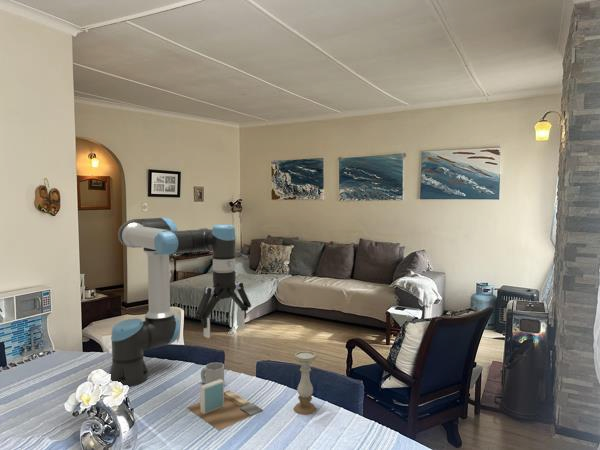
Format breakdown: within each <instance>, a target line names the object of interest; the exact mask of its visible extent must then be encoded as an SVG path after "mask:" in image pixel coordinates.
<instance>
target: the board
mask: <svg viewBox="0 0 600 450" xmlns="http://www.w3.org/2000/svg"><path fill="white" fill-rule="evenodd" d="M248 402H249V404H251V403H252V402H250V401H248ZM240 408H241V407H240V406H238V405H237V404H235V403H233V402H232V401H230V400H228V399H227V398H225V397H224V406H223V407H220V408H218V409H215V410H213V411H210V412H208V413H205V414H203V413H201V401H200V402H198V403H194V404H192V405H190V406H187V407H186V409H187V410H188V411H191V412H192V413H193V414H194V415H196V416H197V417H198V418H200V419H201V420H202V421H204V422H205V423H207V424H208V425H211V427H213V428H214V429H215V430H217V431H221V430H224V429H226V428H228V427H230V426H232V425H236V424H237V423H240V422H241V421H243V420H246V419H249V418H251V417H252V416H249V415H248V414H246V413H245V412H243V411H241V410H240ZM264 410H265V409H264ZM264 410H263V411H261V412H259V413H258V414H260V413H262V412H264Z"/></svg>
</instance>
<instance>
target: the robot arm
mask: <svg viewBox="0 0 600 450" xmlns="http://www.w3.org/2000/svg"><path fill="white" fill-rule="evenodd" d="M117 237H118V240H119V242H120V243H121V244H122V245H123V246H125V247H127V248H132V249H133V248H134V249H137V248H143V252H144V253H146V255H147V289H148V290H147V291H148V311H147V313H146V314H145V315H144V320H142V319H140V318H128V319H125V320H121V321H120V322H118V323H116V324H115V325H113V327H112V329H111V337H110V339H111V357H112V358H111V361H112V362H111V366H110V369H109V372H108V375H109V374H111V380H112V381H118V382H121V383H122V384H123V385H128V387H132V386H133V387H134V386H136V385H137V386H138V385H139V384H142V383H144V382H145V381H147V379H148V378H149V370H148V367H147V364H146V361H145V359H144V351H147V350H151V349H156V348H159V347H163V346H168V345H170V344H172V343H174V342H176V340H177V339H178V338H179V336H180V335H179V334H180V332H181V323H180V322H179V321H180V320H179V318H178V317H177V316H176V315H175V312H174V311H172V310H171V293H170V292H171V289H170V284H171V283H170V281H171V280H170V256H172V255H176V254H184V253H196V252H207V251H208V252H212V270H213V272H212V283H213V286H212V287H207V286H205V287H204V289H203V290H204V291H203V295H202V297H201V300H200V303H199V306H198V307H197V310H196V312H195V316H196V317H198V318H200V320H201V328H203V337H204V338H206V339H210V338H211V321H210V319H211V318H210V317H209V316H210V314H211V313H212V311H213V309H215V306H216V305H217V304H218V302H219V301H220V300H224V299H232V300H233V302H234V303H235V304H236V305H237V306H238V307H239V309H238V313H237V314H238V315H237V316H238V317H237V318H238V320H237V321H238V322H237V323H238V324H237V325H238V329H240V330H245V320H246V319H247V311H248V310H249V308H251V307H252V304H251V302H250V300H249V297H248V295H247V293H246V291H245V289H244V283H243V282H240V281H237V282H236V280H237V279H236V278H237V277H236V274H237V273H236V271H235V270H236V238H237V237H236V228H235V226H234V225H233V224H215V225H213V226H212V229H209V228H206V227H205V228H204V227H203V228H198V229H190V230H187V229H186V230H178V228H177V225H176V224H175V222H174V220H172V218H171V219H170V218H168V217H151V218H133V219H129V220H126V221H125V222H124V223H123V224H122V225H121V226H120V228H119V229H118V232H117ZM235 291H237V293H238V294H239V296H240V297H239V296H238V295H237V293H236V292H235ZM210 298H211V299H210Z"/></svg>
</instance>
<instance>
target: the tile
mask: <svg viewBox="0 0 600 450" xmlns="http://www.w3.org/2000/svg"><path fill="white" fill-rule="evenodd" d="M199 387H200V389H199V390H200V394H199V395H200V402H201V413H203V414H205V413H208V412H210V411H213V410H215V409H218V408H220V407H223V406H224V392H225V391H224V390H225V389H224V388H225V380H224V381H223V380H221V379H219V380H216V381H213V382H211V383H208V384H205V383H204V384H202V385H200V386H199Z"/></svg>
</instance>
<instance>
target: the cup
mask: <svg viewBox="0 0 600 450" xmlns="http://www.w3.org/2000/svg"><path fill="white" fill-rule="evenodd" d="M200 379H201V382H202V383H203V384H204V385H205V384H208V383H211V382H213V381H216V380H219V379H221V380H223V381H224V382H225V364H224V363H223V362H210V363H207V364H206V365H205V366H203V367H202V368H201V370H200Z"/></svg>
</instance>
